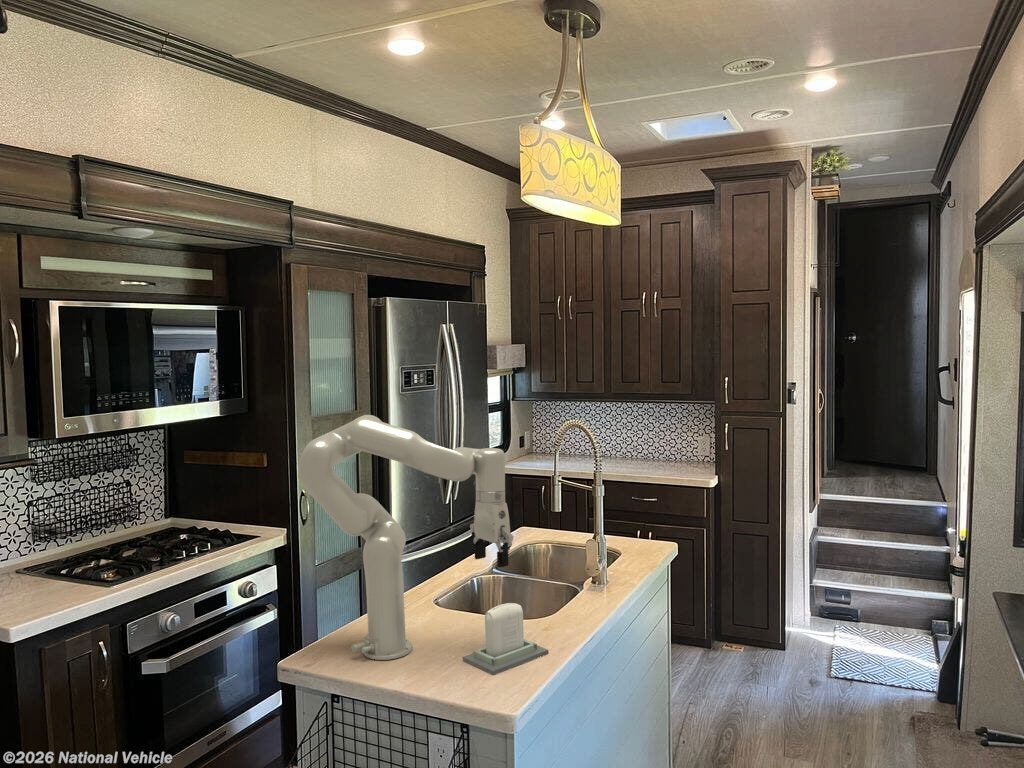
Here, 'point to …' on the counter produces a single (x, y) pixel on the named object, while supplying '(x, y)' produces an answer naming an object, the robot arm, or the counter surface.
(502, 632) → the photo printer
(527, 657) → the dock
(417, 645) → the counter surface
